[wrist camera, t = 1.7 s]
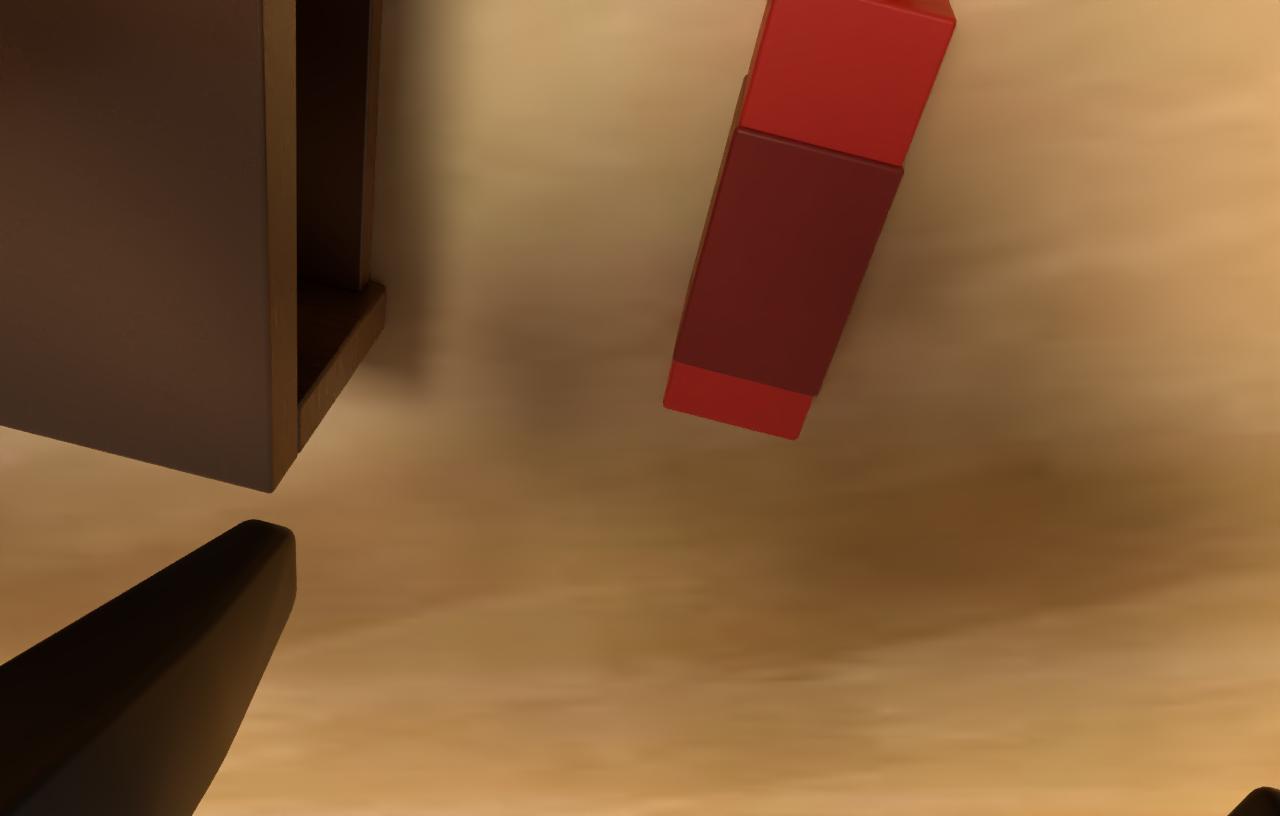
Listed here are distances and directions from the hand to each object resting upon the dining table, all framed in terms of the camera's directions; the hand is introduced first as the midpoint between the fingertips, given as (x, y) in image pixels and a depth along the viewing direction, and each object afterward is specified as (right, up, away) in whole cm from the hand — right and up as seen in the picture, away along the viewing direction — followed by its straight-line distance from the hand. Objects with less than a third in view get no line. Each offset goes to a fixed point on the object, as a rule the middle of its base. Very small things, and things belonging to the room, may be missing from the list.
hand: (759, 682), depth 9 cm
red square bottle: (+2, +7, +11) cm, 13 cm away
